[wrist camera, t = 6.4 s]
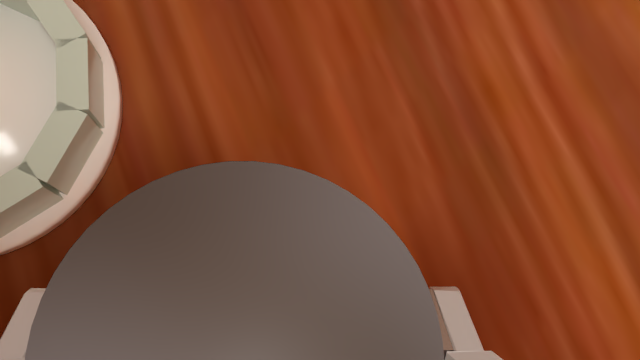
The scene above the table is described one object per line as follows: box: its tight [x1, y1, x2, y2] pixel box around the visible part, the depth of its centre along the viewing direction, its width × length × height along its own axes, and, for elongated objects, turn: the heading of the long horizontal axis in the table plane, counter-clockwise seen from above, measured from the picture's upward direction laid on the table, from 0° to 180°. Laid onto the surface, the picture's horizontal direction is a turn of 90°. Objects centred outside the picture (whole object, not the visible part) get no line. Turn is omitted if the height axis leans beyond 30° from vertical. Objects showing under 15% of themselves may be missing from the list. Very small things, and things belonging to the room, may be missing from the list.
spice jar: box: [25, 161, 444, 360], centre depth 11 cm, size 5×5×9 cm
